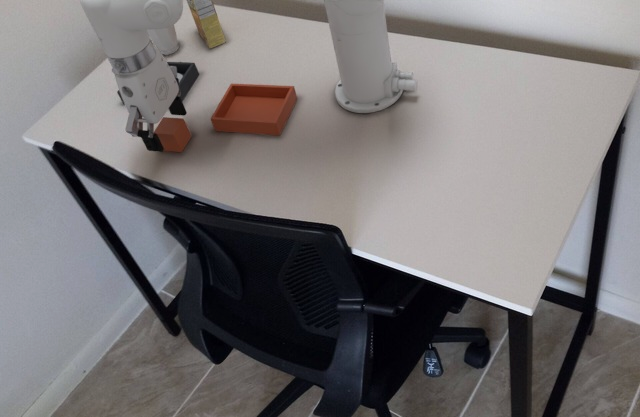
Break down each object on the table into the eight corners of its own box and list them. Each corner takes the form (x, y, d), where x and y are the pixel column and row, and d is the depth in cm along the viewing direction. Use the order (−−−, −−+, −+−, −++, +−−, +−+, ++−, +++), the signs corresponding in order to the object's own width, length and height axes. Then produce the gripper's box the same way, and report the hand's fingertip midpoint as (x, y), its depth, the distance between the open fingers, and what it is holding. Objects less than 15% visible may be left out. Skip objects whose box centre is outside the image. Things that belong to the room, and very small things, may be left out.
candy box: (197, 31, 145) (173, -32, 134) (214, 24, 146) (191, -40, 134) (210, 49, 139) (185, -15, 128) (227, 41, 140) (205, -23, 129)
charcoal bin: (199, 74, 134) (194, 62, 132) (178, 106, 128) (173, 95, 126) (145, 72, 138) (139, 60, 136) (123, 103, 132) (116, 92, 130)
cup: (165, 62, 139) (151, 30, 133) (141, 48, 145) (126, 17, 139) (190, 45, 142) (177, 13, 136) (165, 32, 148) (152, 0, 142)
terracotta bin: (297, 98, 122) (294, 86, 120) (279, 135, 116) (275, 123, 114) (235, 95, 127) (230, 83, 125) (215, 131, 121) (210, 119, 119)
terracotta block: (191, 135, 121) (183, 118, 118) (182, 152, 119) (173, 134, 116) (171, 134, 123) (163, 116, 120) (161, 150, 120) (152, 133, 117)
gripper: (126, 89, 100) (165, 167, 112) (174, 24, 110) (205, 102, 122) (86, 86, 102) (128, 163, 115) (136, 23, 112) (170, 99, 125)
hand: (168, 131), depth 118 cm, fingers open, 9 cm apart
